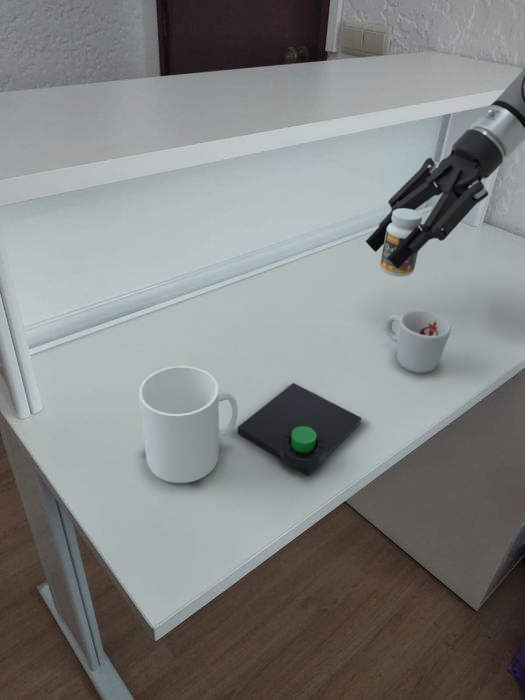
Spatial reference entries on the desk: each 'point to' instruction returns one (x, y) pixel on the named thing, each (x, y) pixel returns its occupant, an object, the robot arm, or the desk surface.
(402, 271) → the pill bottle
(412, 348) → the cup
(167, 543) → the desk surface
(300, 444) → the tare button
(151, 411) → the mug
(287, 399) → the scale
